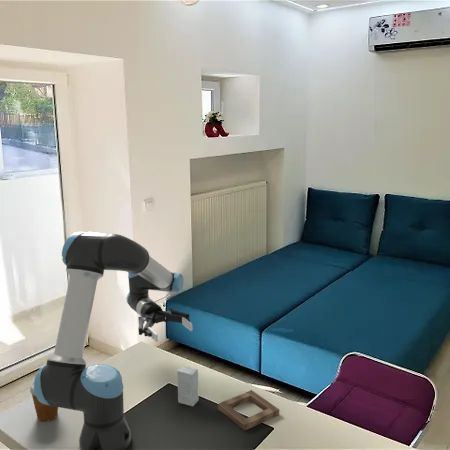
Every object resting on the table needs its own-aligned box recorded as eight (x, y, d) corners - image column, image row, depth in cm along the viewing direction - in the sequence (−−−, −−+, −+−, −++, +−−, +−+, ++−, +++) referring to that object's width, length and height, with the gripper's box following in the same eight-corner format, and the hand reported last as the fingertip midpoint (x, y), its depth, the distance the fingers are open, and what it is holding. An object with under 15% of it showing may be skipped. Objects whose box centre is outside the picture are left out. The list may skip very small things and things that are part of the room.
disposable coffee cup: (30, 426, 156) (27, 392, 154) (33, 410, 165) (30, 377, 163) (62, 422, 159) (59, 388, 156) (63, 405, 168) (61, 373, 165)
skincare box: (198, 400, 171) (198, 369, 169) (193, 406, 168) (192, 374, 165) (183, 396, 174) (183, 365, 171) (177, 402, 170) (176, 371, 167)
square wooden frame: (244, 430, 155) (244, 425, 154) (217, 409, 166) (217, 403, 166) (279, 414, 163) (279, 409, 163) (251, 395, 175) (251, 390, 174)
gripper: (178, 311, 197) (205, 332, 180) (119, 328, 184) (142, 352, 167) (178, 294, 195) (204, 314, 178) (117, 309, 182) (140, 332, 165)
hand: (174, 332), depth 173 cm, fingers open, 13 cm apart
